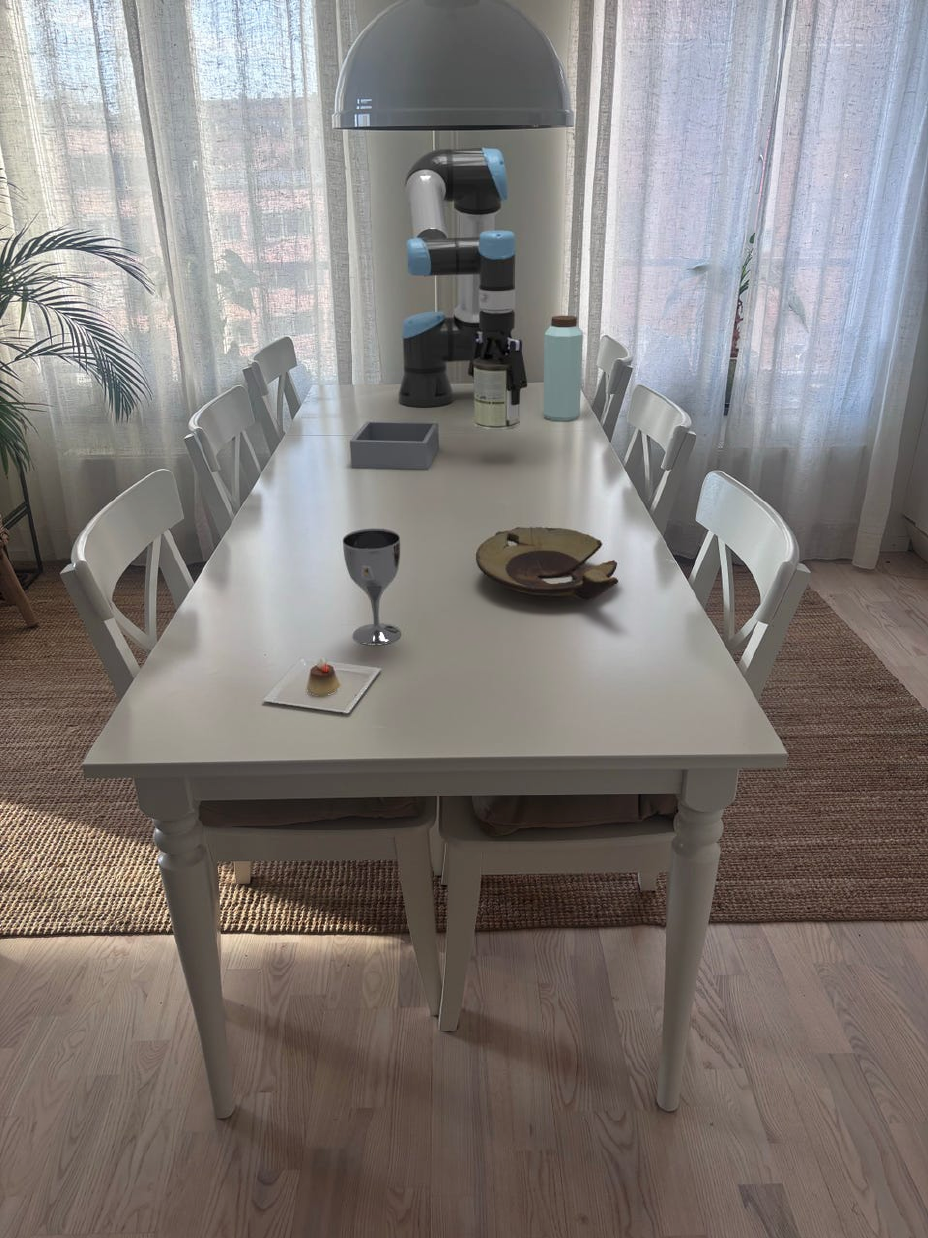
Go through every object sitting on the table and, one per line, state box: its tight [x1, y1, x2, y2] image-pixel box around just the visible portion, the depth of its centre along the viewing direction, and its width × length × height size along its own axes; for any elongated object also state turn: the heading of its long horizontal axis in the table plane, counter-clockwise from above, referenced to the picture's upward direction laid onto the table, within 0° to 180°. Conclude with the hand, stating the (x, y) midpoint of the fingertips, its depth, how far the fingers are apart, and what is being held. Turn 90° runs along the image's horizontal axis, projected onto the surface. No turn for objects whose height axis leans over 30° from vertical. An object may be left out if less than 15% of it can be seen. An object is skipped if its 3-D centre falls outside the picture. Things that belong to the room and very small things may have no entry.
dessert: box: [261, 657, 382, 714], centre depth 128 cm, size 12×12×5 cm
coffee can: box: [473, 355, 521, 431], centre depth 214 cm, size 10×10×14 cm
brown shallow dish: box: [475, 526, 619, 601], centre depth 155 cm, size 22×30×8 cm
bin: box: [349, 420, 440, 471], centre depth 222 cm, size 17×17×6 cm
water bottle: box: [542, 315, 584, 422], centre depth 248 cm, size 10×10×25 cm
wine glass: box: [342, 528, 402, 645], centre depth 140 cm, size 8×8×15 cm
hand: (496, 414), depth 216 cm, fingers closed on coffee can, 10 cm apart
